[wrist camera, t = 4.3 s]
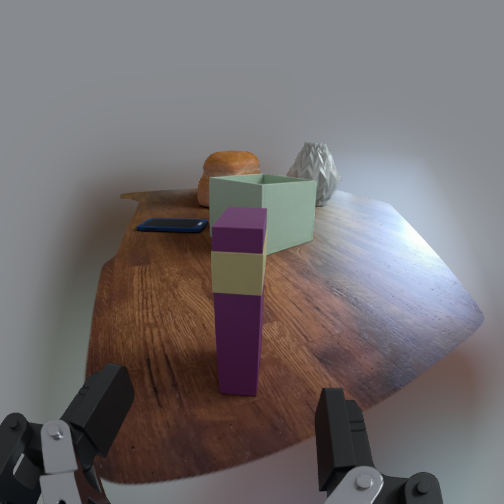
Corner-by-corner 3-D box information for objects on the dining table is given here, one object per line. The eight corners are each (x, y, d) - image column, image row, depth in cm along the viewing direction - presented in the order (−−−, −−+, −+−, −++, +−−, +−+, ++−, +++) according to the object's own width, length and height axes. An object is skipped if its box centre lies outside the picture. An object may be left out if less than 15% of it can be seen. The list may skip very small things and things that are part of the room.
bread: (192, 207, 76) (191, 151, 71) (229, 193, 99) (229, 150, 94) (238, 211, 72) (239, 151, 67) (266, 195, 96) (267, 151, 90)
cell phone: (200, 232, 54) (200, 228, 54) (135, 230, 55) (135, 226, 55) (208, 222, 61) (208, 219, 60) (149, 221, 62) (149, 217, 61)
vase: (274, 201, 86) (276, 140, 79) (308, 197, 96) (311, 143, 89) (318, 212, 74) (322, 142, 68) (349, 206, 84) (353, 147, 78)
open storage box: (262, 224, 60) (263, 173, 57) (312, 240, 51) (317, 181, 48) (209, 236, 52) (209, 177, 48) (259, 257, 43) (262, 185, 39)
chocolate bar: (229, 349, 23) (227, 206, 19) (261, 352, 23) (268, 207, 19) (218, 393, 18) (210, 226, 14) (257, 397, 18) (264, 229, 14)
